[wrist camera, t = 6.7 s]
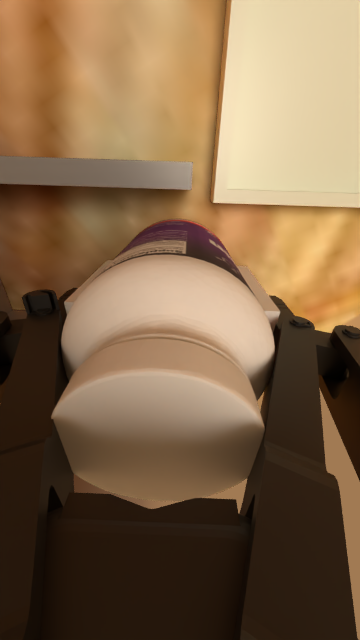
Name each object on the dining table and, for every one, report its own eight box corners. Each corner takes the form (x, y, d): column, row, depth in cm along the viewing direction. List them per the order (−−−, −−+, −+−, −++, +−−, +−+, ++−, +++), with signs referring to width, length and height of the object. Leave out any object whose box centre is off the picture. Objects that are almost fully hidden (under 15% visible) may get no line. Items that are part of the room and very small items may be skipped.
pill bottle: (235, 303, 20) (322, 507, 7) (146, 324, 21) (91, 530, 8) (217, 200, 16) (335, 263, 3) (109, 234, 17) (-95, 369, 5)
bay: (4, 320, 24) (-113, 409, 14) (-62, 160, 17) (-371, 132, 7) (183, 325, 24) (182, 419, 14) (190, 168, 17) (197, 150, 7)
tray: (209, 200, 18) (213, 202, 16) (237, -129, 11) (250, -207, 9) (387, 206, 18) (415, 209, 16) (530, -120, 11) (617, -196, 9)
